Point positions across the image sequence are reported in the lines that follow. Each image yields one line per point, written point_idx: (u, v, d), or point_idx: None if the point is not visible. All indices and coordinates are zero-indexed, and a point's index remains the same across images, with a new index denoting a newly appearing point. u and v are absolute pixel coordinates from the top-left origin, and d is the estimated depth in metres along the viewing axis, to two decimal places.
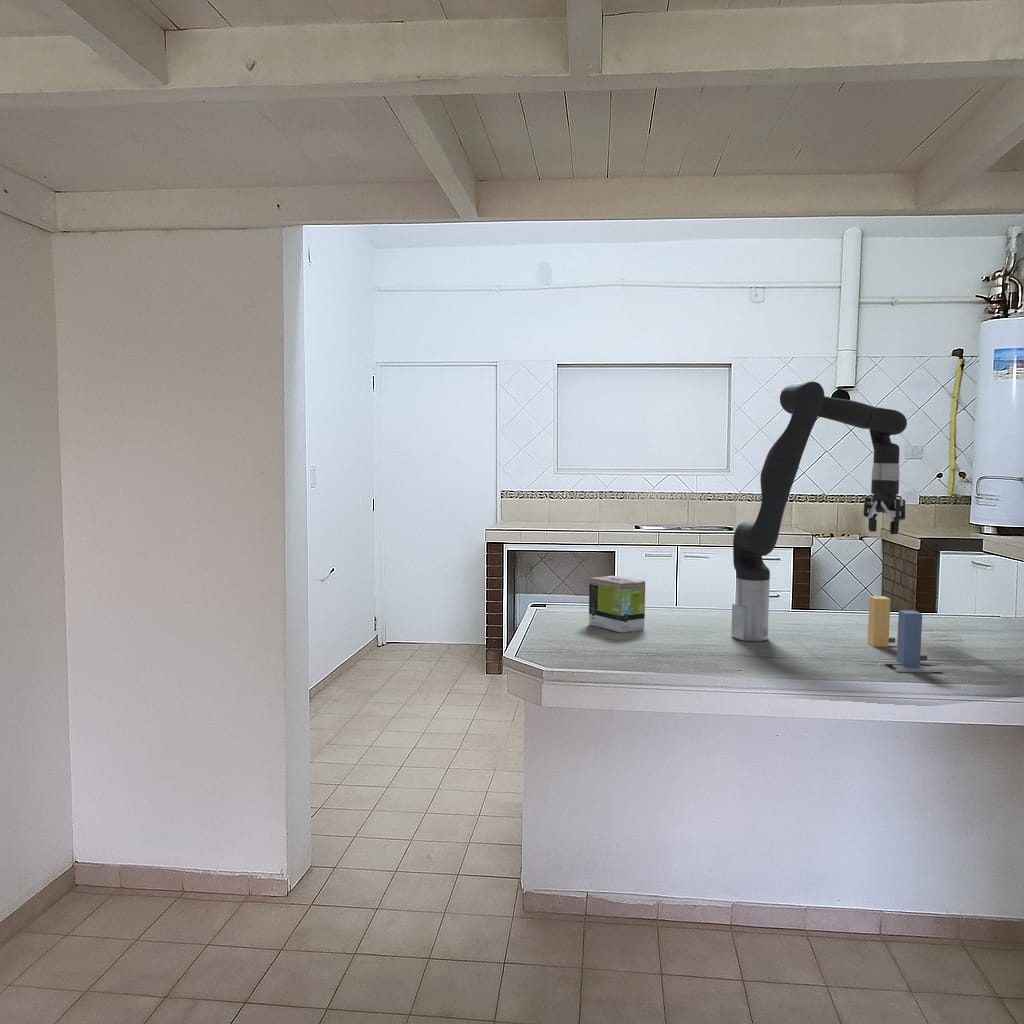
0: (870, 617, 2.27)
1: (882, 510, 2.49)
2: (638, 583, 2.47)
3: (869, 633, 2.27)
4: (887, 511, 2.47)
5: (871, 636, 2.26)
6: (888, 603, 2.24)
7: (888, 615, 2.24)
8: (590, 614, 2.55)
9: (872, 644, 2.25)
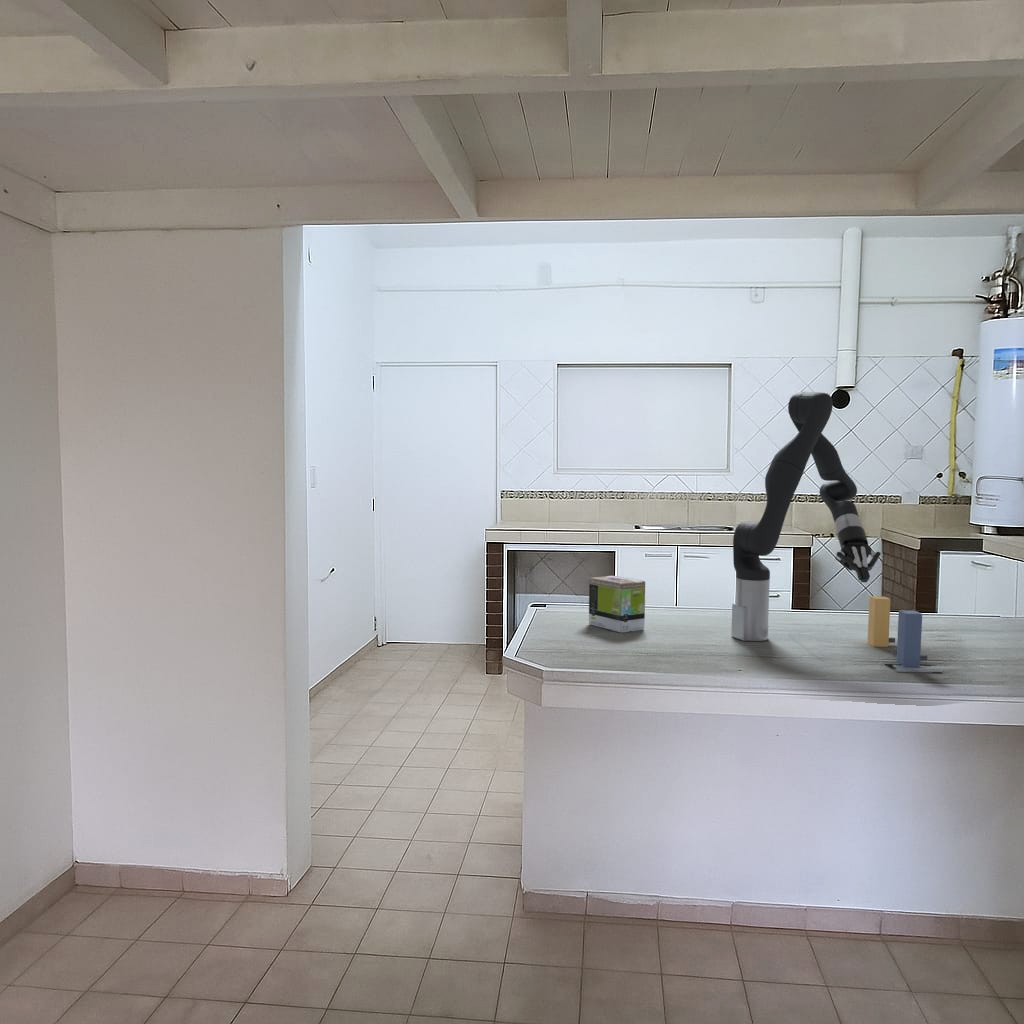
0: (870, 617, 2.27)
1: (861, 556, 2.41)
2: (638, 583, 2.47)
3: (869, 633, 2.27)
4: (865, 557, 2.40)
5: (871, 636, 2.26)
6: (888, 603, 2.24)
7: (888, 615, 2.24)
8: (590, 614, 2.55)
9: (872, 644, 2.25)
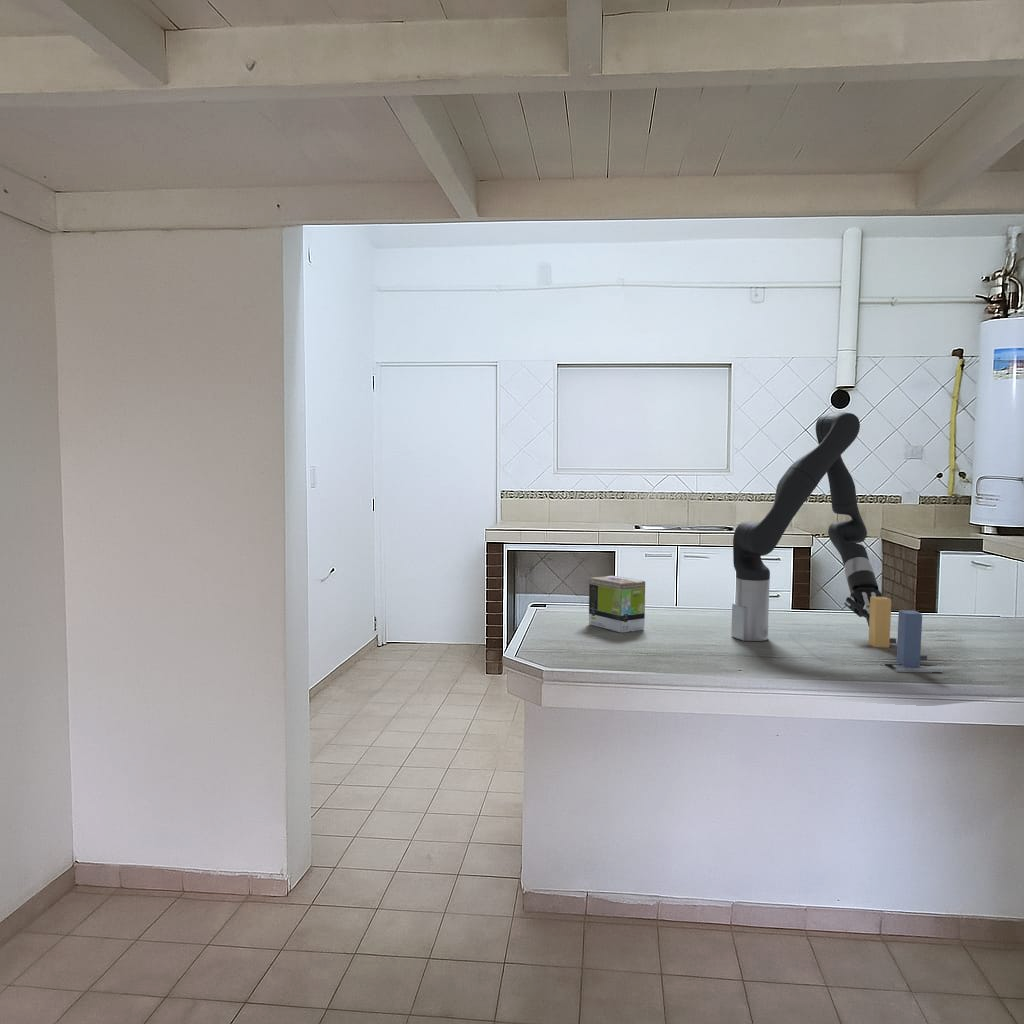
0: (871, 617, 2.26)
1: None
2: (638, 583, 2.47)
3: (870, 634, 2.27)
4: None
5: (872, 637, 2.26)
6: (889, 603, 2.23)
7: (889, 616, 2.23)
8: (590, 614, 2.55)
9: (873, 645, 2.25)
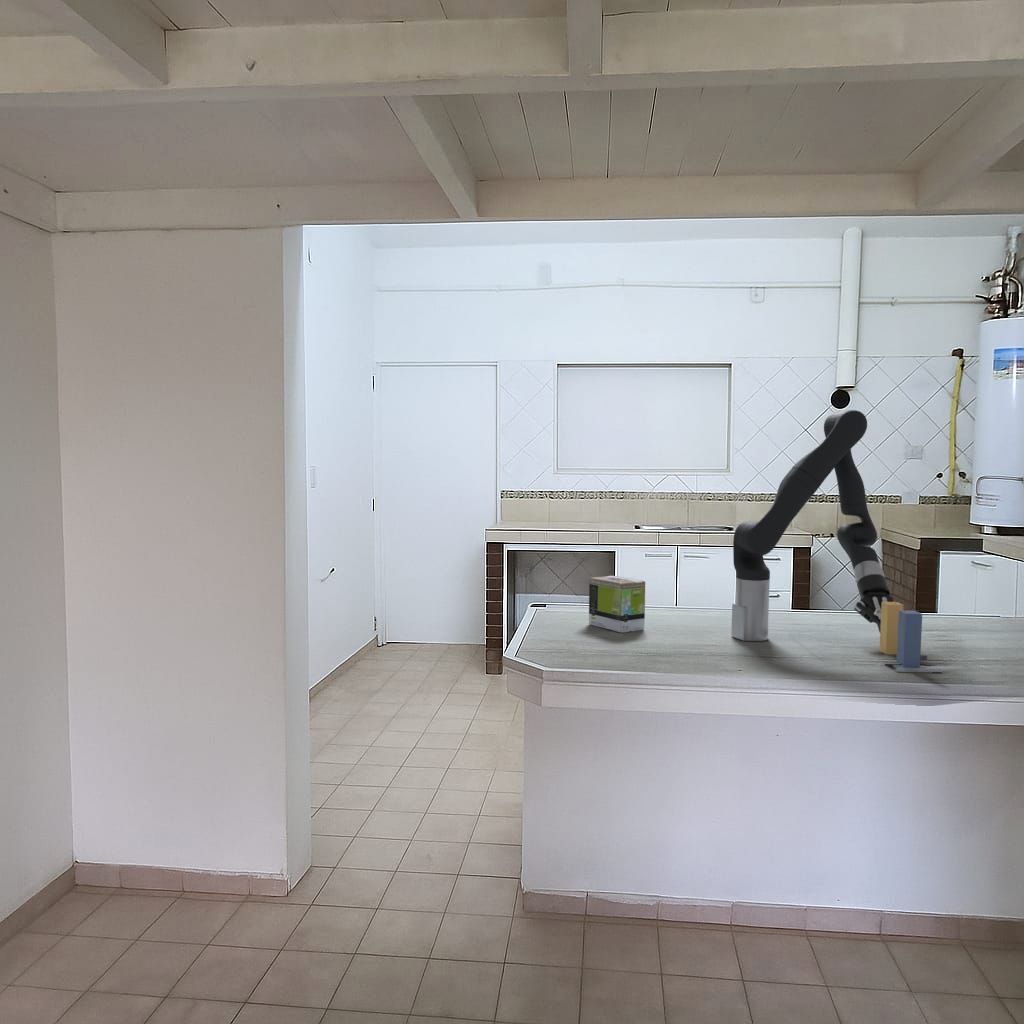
0: (882, 623, 2.19)
1: None
2: (638, 583, 2.47)
3: (881, 640, 2.19)
4: None
5: (883, 644, 2.18)
6: (901, 609, 2.16)
7: None
8: (590, 614, 2.55)
9: (885, 652, 2.17)
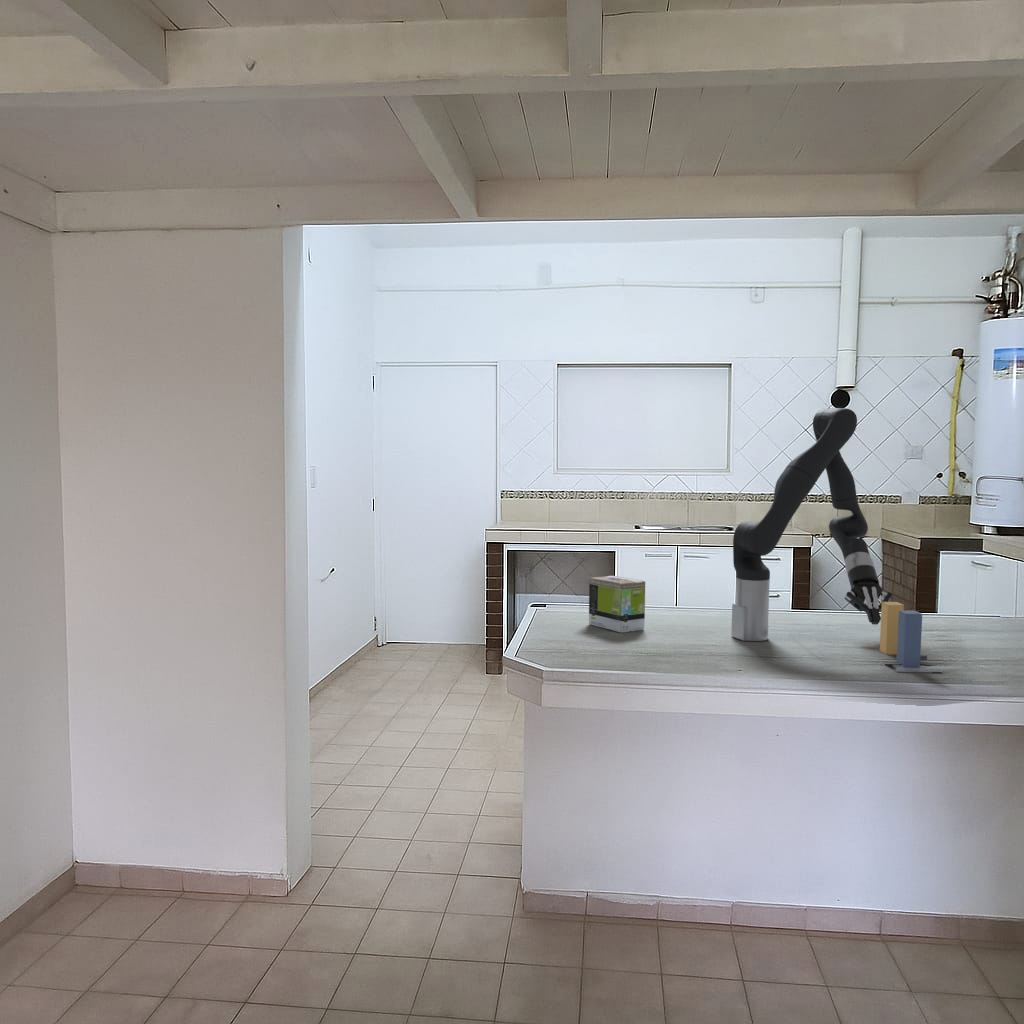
0: (882, 623, 2.19)
1: (872, 596, 2.32)
2: (638, 583, 2.47)
3: (881, 640, 2.19)
4: (876, 598, 2.31)
5: (883, 644, 2.18)
6: (901, 609, 2.15)
7: None
8: (590, 614, 2.55)
9: (885, 652, 2.17)
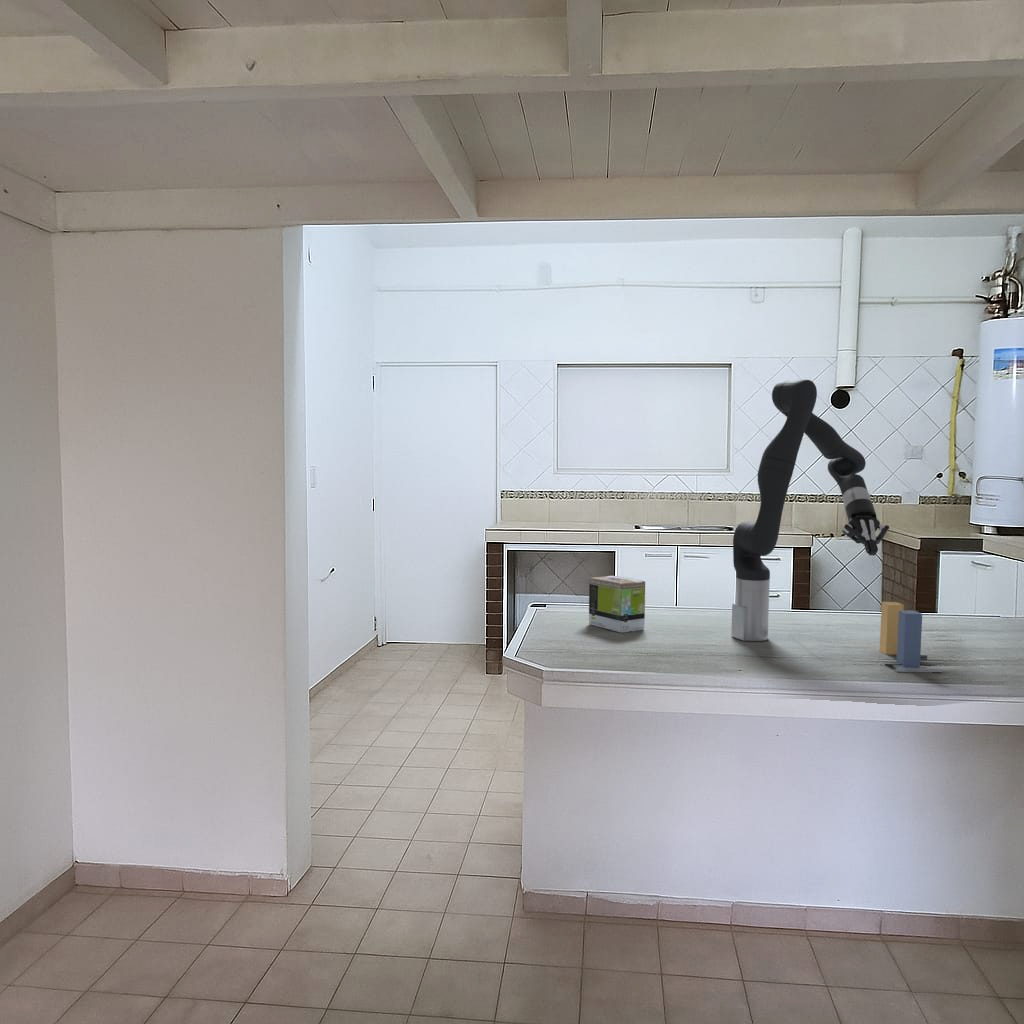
0: (882, 623, 2.19)
1: (869, 529, 2.35)
2: (638, 583, 2.47)
3: (881, 640, 2.19)
4: (873, 530, 2.34)
5: (883, 644, 2.18)
6: (901, 609, 2.15)
7: None
8: (590, 614, 2.55)
9: (885, 652, 2.17)
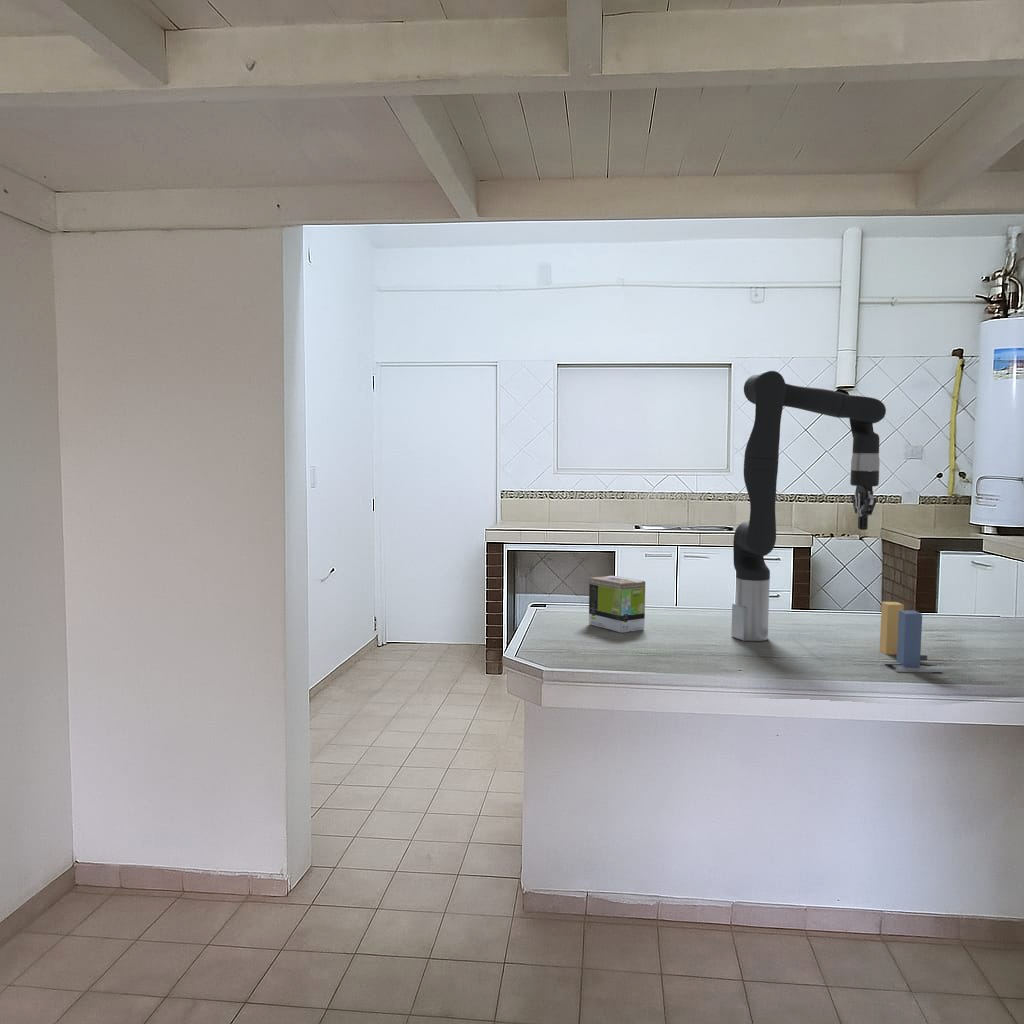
0: (882, 623, 2.19)
1: None
2: (638, 583, 2.47)
3: (881, 640, 2.19)
4: (859, 505, 2.39)
5: (883, 644, 2.18)
6: (901, 609, 2.15)
7: None
8: (590, 614, 2.55)
9: (885, 652, 2.17)
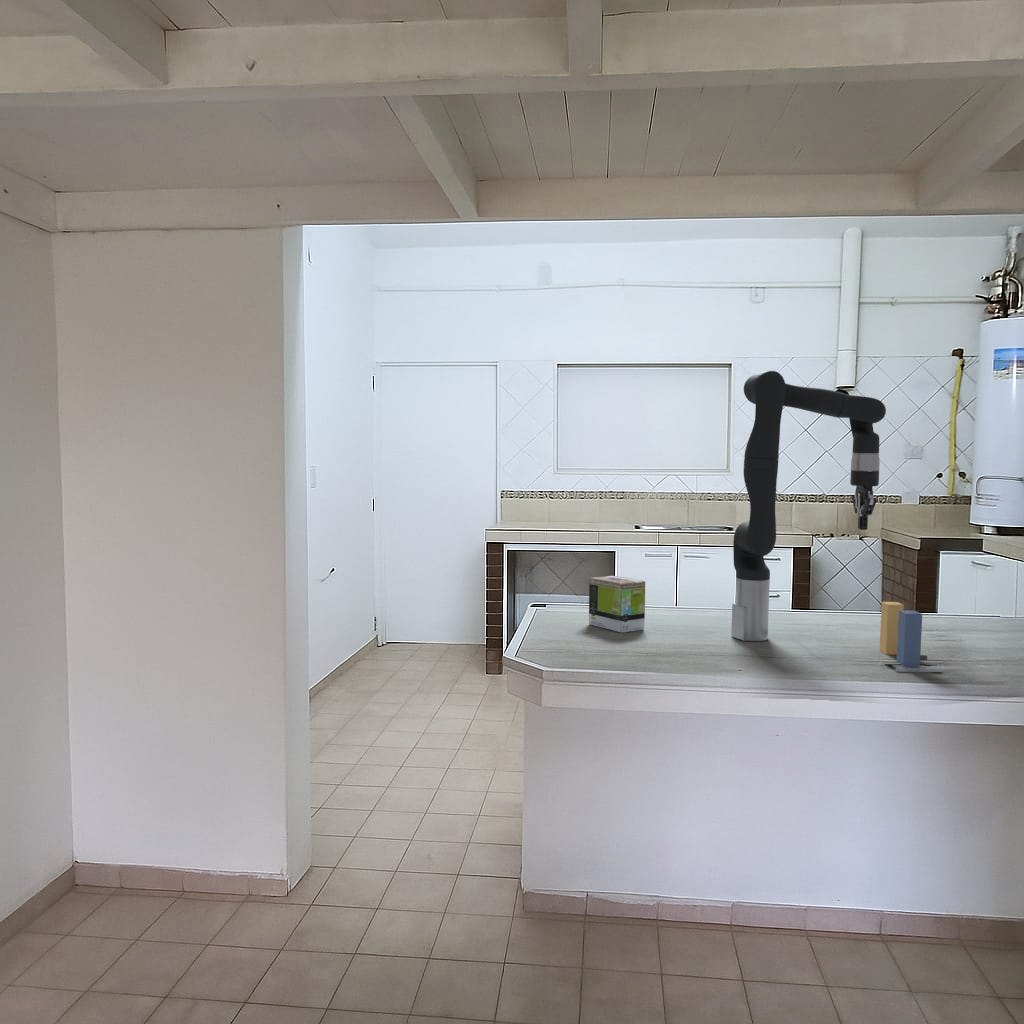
0: (882, 623, 2.19)
1: None
2: (638, 583, 2.47)
3: (881, 640, 2.19)
4: (859, 505, 2.39)
5: (883, 644, 2.18)
6: (901, 609, 2.15)
7: None
8: (590, 614, 2.55)
9: (885, 652, 2.17)
